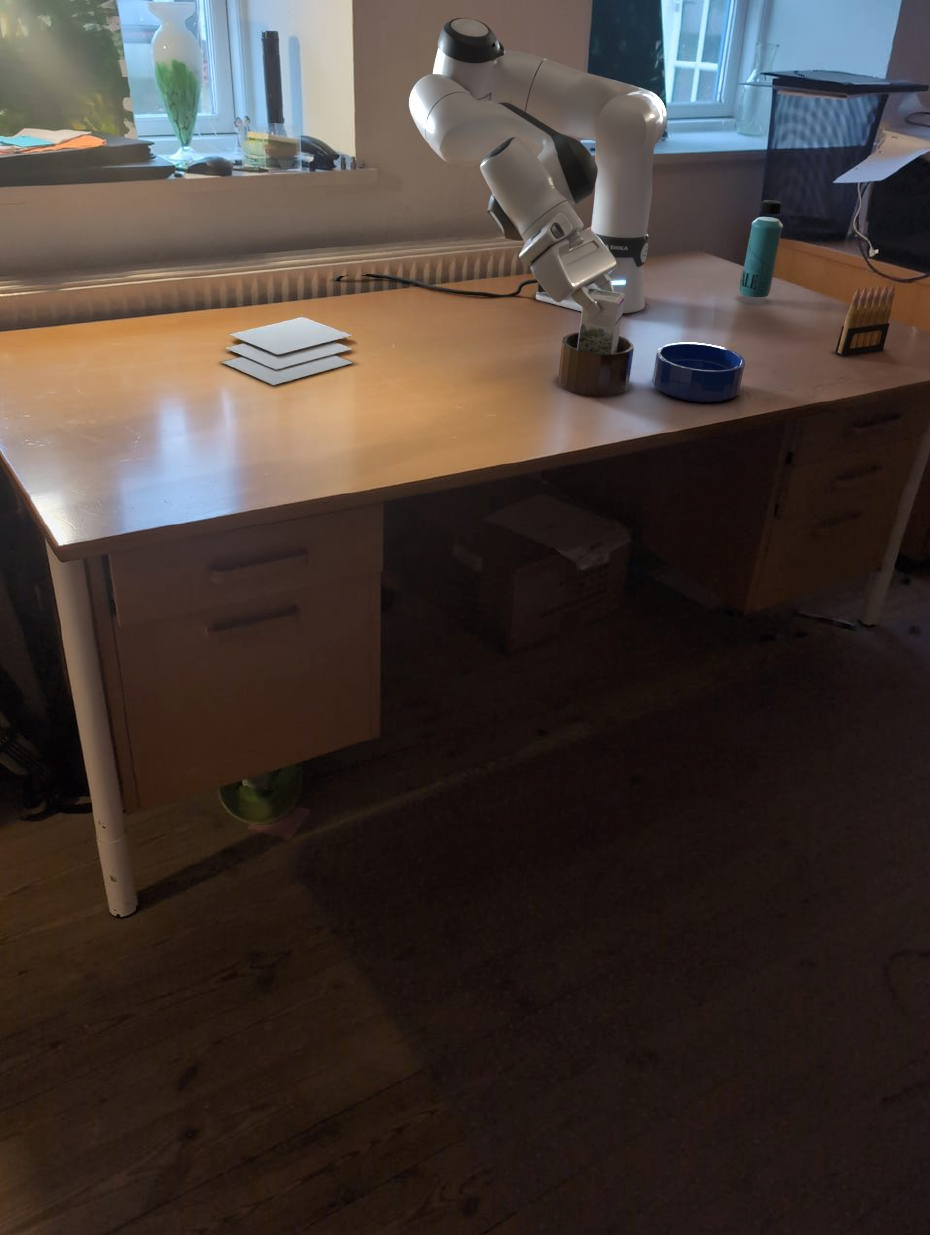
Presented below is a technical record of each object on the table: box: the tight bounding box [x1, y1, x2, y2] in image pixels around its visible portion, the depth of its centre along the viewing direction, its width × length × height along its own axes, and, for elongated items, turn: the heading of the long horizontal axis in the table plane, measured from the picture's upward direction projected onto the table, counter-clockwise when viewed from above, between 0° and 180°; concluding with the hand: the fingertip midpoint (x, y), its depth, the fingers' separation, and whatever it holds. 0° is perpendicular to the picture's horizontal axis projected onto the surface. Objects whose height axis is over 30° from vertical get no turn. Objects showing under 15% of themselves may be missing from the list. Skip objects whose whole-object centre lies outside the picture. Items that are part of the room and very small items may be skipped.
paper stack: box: [221, 316, 353, 386], centre depth 173 cm, size 23×25×1 cm
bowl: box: [651, 342, 746, 403], centre depth 166 cm, size 14×14×6 cm
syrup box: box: [577, 289, 625, 353], centre depth 163 cm, size 6×6×14 cm
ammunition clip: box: [834, 284, 896, 357], centre depth 185 cm, size 11×2×12 cm, turn 117°
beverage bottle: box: [739, 199, 784, 298], centre depth 209 cm, size 6×7×20 cm
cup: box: [557, 331, 635, 398], centre depth 165 cm, size 12×12×7 cm
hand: (605, 308), depth 160 cm, fingers closed on syrup box, 6 cm apart
